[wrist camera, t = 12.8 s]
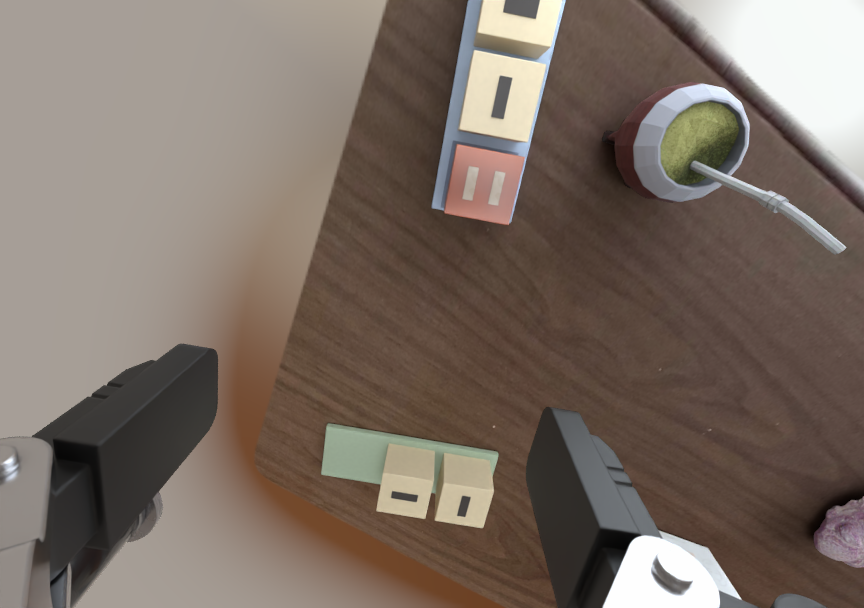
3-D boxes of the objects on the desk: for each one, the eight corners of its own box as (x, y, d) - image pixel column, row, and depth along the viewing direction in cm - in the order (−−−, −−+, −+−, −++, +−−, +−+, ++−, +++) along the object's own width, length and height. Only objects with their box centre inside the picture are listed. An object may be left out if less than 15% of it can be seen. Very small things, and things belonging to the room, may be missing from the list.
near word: (509, 221, 34) (518, 233, 30) (431, 207, 34) (429, 216, 30) (569, -21, 29) (591, -50, 24) (475, -40, 28) (480, -73, 24)
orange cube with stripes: (455, 143, 32) (457, 143, 28) (516, 155, 32) (525, 157, 28) (444, 205, 34) (443, 213, 30) (501, 216, 34) (508, 225, 30)
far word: (322, 470, 44) (308, 506, 40) (327, 422, 42) (314, 455, 38) (484, 497, 45) (488, 535, 40) (497, 451, 43) (503, 487, 38)
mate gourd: (613, 83, 31) (753, 35, 17) (718, 105, 31) (942, 76, 17) (581, 188, 33) (678, 223, 19) (678, 208, 34) (843, 256, 20)
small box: (616, 557, 47) (661, 667, 37) (645, 522, 45) (700, 629, 35) (678, 580, 48) (738, 693, 38) (709, 546, 46) (780, 657, 36)
